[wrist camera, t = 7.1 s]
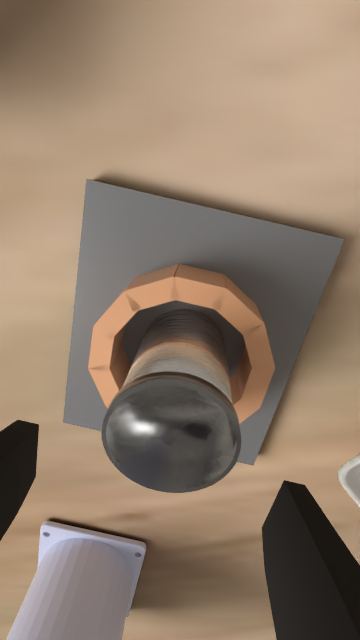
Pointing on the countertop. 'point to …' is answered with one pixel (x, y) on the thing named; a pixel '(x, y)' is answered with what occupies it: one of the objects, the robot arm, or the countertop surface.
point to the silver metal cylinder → (175, 408)
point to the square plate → (351, 478)
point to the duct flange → (191, 296)
